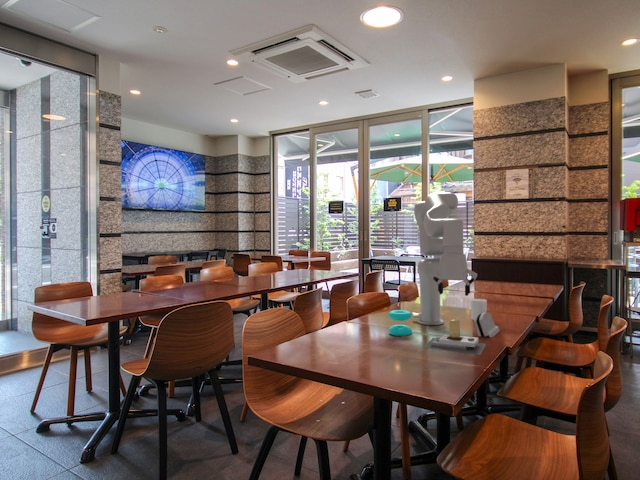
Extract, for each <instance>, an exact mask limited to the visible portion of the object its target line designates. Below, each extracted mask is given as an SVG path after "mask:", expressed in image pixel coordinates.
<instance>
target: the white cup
mask: <svg viewBox="0 0 640 480" xmlns="http://www.w3.org/2000/svg"><path fill="white" fill-rule="evenodd" d="M469 301H470V302H469V303H470V305H469V306H470V315H471V320H472V321H474V319H475V317H476V316H477V315H479V314H482V313H487V310H488V308H487V305H488V304H487V303H488V300H487V299H485V298H471V299H469Z"/></svg>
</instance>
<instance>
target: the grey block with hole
mask: <svg viewBox="0 0 640 480" xmlns="http://www.w3.org/2000/svg"><path fill="white" fill-rule="evenodd" d="M434 338H435V339H434V340H433V341H432V342H431V346H433V347H442V348H450V349H459V350H467V349H468V348H471V349H473V348H474V347H475V346H476V345H477V343H479V337H475V336H468V335H467V336H465V335H460V340H451V339H449V334H442V336H441V337H440V336H436V337H434Z"/></svg>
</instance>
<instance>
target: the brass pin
mask: <svg viewBox="0 0 640 480" xmlns="http://www.w3.org/2000/svg"><path fill="white" fill-rule="evenodd" d="M448 335H449V339H451V340H460V336H461V320H460V319H457V318H451V319H448Z"/></svg>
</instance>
